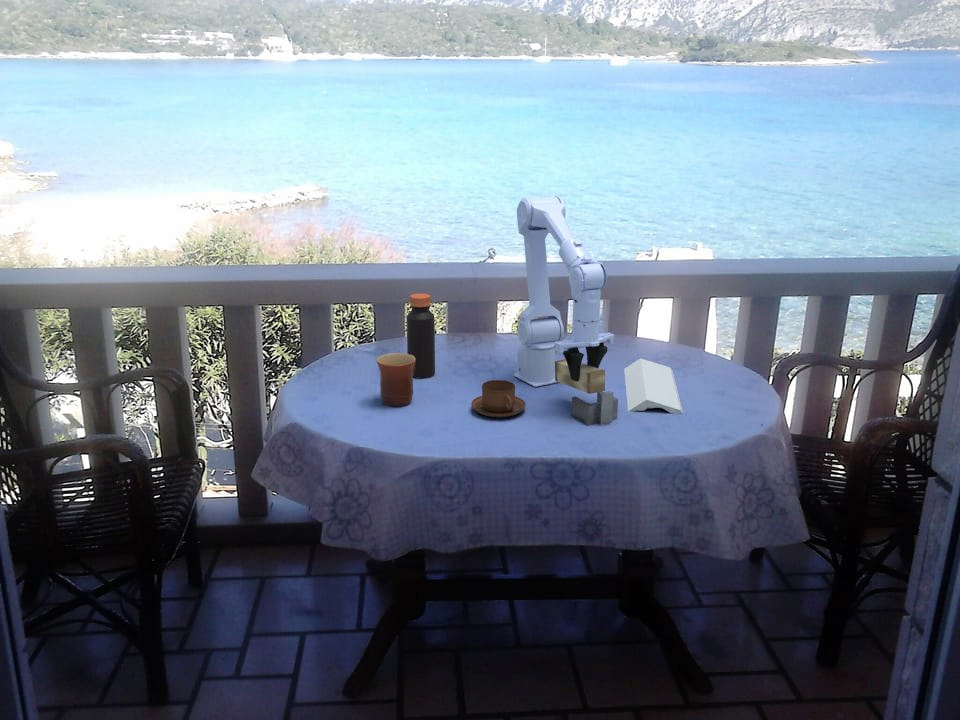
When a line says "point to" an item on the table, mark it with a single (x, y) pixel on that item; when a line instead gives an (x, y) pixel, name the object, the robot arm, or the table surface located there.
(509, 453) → the table surface
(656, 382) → the crown molding
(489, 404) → the cup and saucer
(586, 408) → the bracket
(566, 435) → the table surface
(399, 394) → the mug
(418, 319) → the bottle
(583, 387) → the tan rectangular block
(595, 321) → the robot arm
